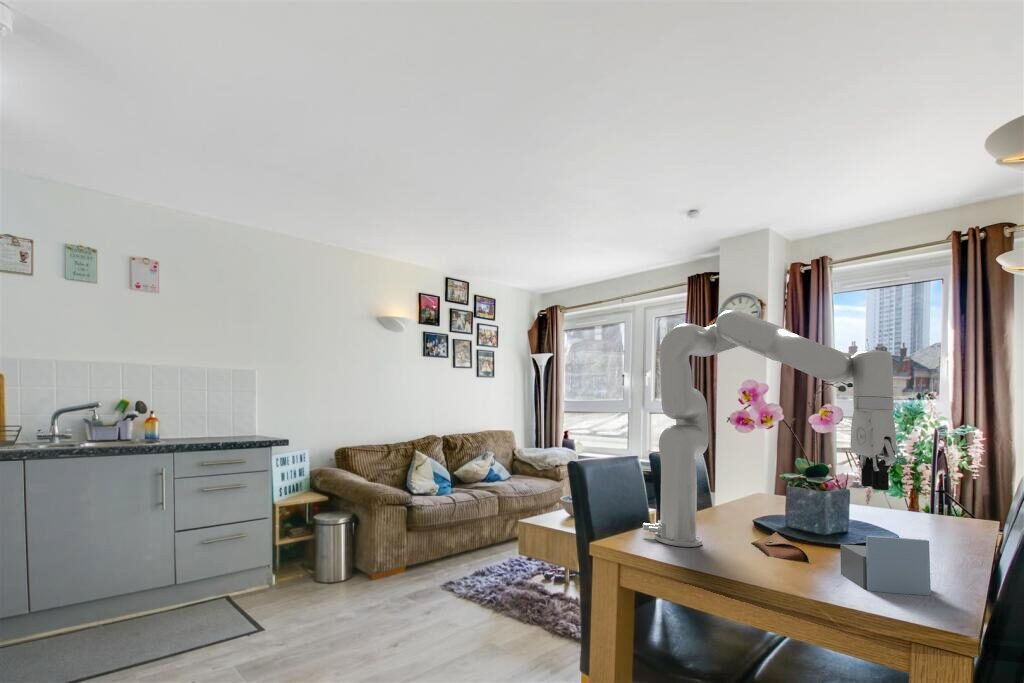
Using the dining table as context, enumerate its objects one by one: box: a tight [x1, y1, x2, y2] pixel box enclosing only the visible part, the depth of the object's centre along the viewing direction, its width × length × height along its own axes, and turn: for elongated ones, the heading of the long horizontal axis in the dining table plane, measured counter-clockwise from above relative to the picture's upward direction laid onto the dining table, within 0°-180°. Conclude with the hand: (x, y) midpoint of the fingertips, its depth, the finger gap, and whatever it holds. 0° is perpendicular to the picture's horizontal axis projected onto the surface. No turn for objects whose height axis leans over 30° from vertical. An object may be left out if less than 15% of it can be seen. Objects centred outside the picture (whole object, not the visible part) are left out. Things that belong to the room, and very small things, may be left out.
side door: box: [865, 535, 932, 596], centre depth 110 cm, size 12×1×11 cm, turn 84°
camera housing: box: [839, 543, 867, 590], centre depth 115 cm, size 15×9×7 cm, turn 84°
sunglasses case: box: [750, 531, 810, 562], centre depth 137 cm, size 18×7×7 cm
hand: (874, 487), depth 117 cm, fingers open, 3 cm apart
